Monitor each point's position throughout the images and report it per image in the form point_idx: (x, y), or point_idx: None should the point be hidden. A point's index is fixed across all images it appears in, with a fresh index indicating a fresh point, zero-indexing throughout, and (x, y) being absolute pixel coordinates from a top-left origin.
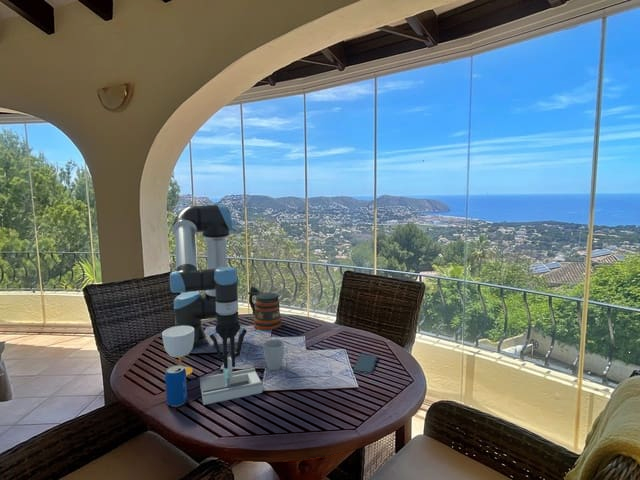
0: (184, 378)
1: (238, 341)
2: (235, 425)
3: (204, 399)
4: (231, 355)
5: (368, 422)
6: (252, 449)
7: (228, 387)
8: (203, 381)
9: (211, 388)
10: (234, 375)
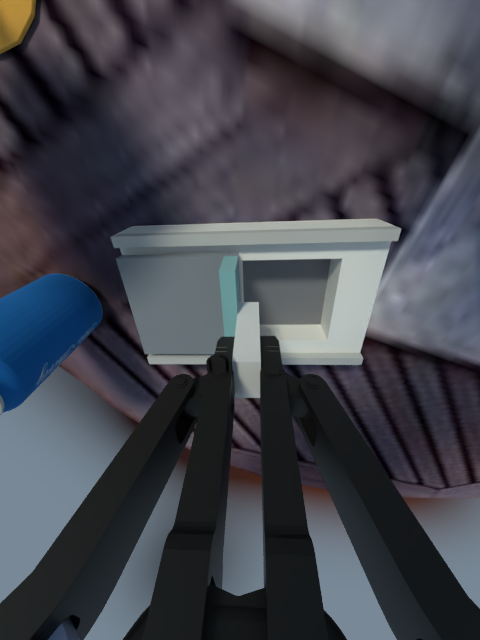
0: (43, 379)
1: (350, 502)
2: (238, 427)
3: None
4: (260, 418)
5: (476, 486)
6: (256, 474)
7: None
8: (135, 288)
9: (174, 348)
10: (279, 251)
